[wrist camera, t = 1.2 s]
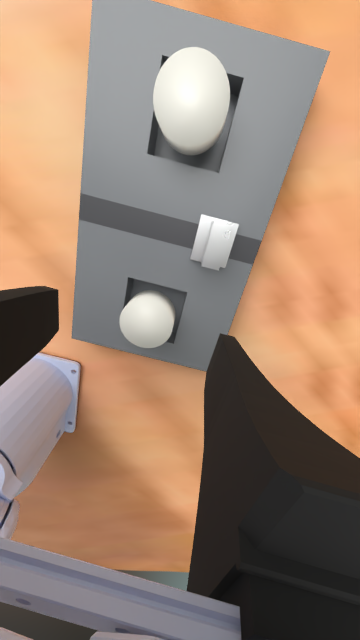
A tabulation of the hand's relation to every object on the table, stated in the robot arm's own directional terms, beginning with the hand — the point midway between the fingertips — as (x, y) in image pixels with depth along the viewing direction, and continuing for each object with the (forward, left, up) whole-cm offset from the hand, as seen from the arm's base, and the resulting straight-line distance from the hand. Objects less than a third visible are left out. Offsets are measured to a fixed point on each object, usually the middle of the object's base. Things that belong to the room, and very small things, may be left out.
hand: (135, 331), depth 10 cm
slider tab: (+4, -3, -7) cm, 9 cm away
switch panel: (+4, 0, -10) cm, 11 cm away
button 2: (+10, 0, -7) cm, 12 cm away
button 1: (-2, 0, -7) cm, 8 cm away
